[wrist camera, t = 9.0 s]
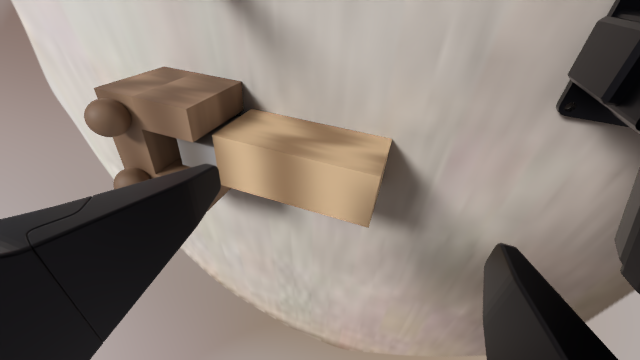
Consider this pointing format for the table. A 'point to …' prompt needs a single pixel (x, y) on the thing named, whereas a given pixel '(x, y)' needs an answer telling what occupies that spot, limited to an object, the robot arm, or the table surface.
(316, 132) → the bed rail
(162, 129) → the arched block with knobs
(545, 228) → the table surface
